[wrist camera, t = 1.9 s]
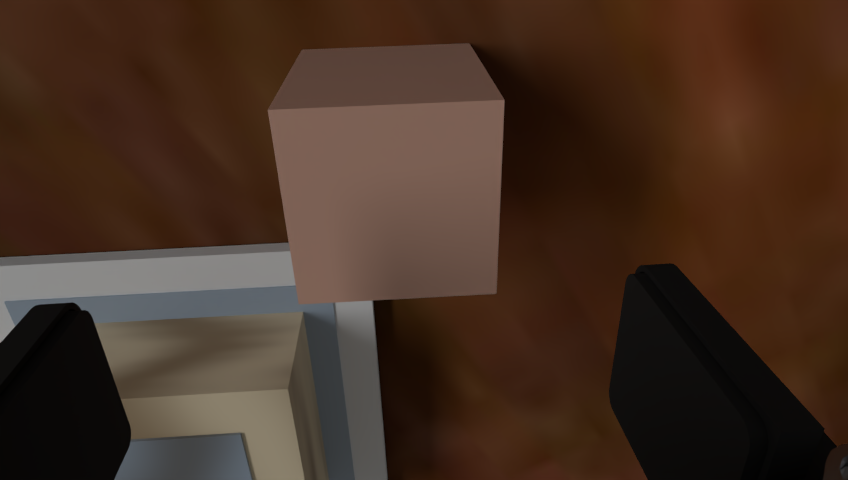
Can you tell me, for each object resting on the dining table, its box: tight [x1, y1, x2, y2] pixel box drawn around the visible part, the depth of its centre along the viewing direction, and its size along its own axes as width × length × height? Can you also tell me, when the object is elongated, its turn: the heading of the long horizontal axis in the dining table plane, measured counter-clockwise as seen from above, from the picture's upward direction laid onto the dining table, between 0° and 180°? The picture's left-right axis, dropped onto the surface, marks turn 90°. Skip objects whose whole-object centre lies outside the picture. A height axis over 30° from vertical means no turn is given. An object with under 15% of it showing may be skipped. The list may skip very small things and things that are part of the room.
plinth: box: [95, 312, 329, 480], centre depth 22 cm, size 9×9×4 cm
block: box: [268, 43, 505, 304], centre depth 16 cm, size 5×5×6 cm
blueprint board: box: [0, 243, 388, 480], centre depth 24 cm, size 14×14×1 cm
